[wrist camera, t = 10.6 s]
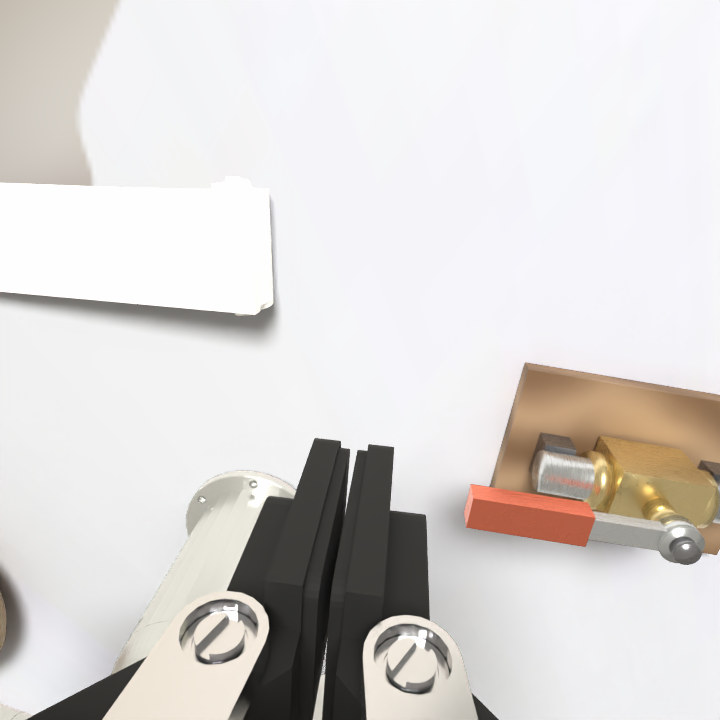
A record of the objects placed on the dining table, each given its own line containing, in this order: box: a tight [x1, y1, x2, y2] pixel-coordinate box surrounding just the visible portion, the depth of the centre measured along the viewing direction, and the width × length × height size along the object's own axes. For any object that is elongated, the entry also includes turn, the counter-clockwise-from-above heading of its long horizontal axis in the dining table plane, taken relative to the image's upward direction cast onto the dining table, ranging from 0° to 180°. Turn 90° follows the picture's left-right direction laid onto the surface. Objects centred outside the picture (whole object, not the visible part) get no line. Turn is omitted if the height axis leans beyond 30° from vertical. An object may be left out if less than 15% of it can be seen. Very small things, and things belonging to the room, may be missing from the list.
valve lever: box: [464, 484, 705, 565], centre depth 35 cm, size 15×3×2 cm, turn 83°
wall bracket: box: [0, 176, 274, 316], centre depth 41 cm, size 10×7×28 cm
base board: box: [490, 363, 720, 555], centre depth 44 cm, size 14×20×2 cm
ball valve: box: [529, 432, 720, 528], centre depth 39 cm, size 5×16×8 cm, turn 82°
